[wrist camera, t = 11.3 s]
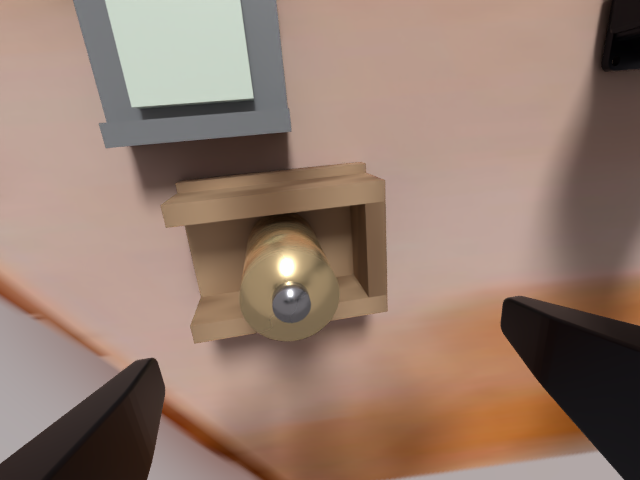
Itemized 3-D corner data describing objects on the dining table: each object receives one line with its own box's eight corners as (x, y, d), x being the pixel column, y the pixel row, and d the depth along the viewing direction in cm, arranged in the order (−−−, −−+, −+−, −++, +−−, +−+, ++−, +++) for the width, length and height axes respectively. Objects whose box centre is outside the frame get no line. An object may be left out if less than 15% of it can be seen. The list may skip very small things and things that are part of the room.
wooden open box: (360, 162, 19) (384, 169, 15) (365, 286, 21) (387, 319, 18) (179, 180, 18) (157, 193, 14) (208, 311, 20) (196, 352, 16)
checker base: (267, -51, 15) (268, -89, 13) (287, 131, 18) (291, 131, 15) (80, -48, 14) (38, -89, 12) (130, 145, 17) (105, 148, 14)
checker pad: (236, -31, 14) (234, -43, 13) (254, 100, 15) (253, 98, 14) (107, -28, 13) (94, -40, 12) (140, 109, 15) (131, 107, 14)
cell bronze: (312, 207, 18) (339, 250, 12) (318, 269, 19) (345, 341, 13) (243, 214, 18) (229, 264, 11) (253, 278, 19) (246, 358, 12)
